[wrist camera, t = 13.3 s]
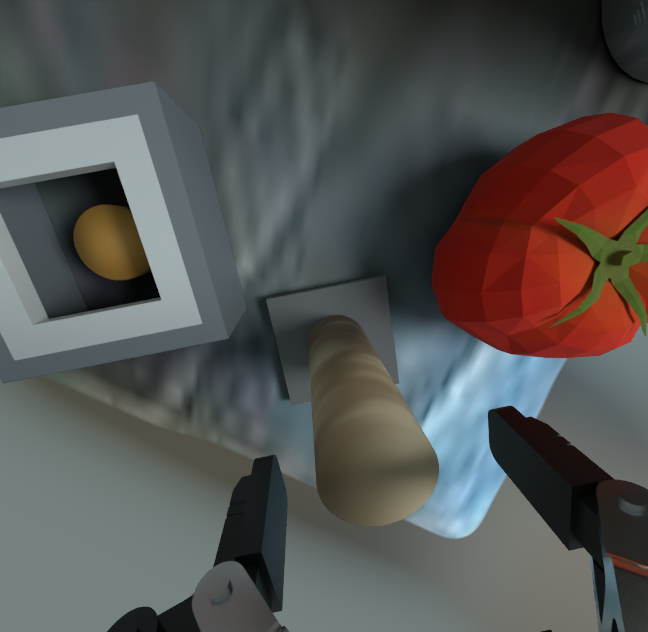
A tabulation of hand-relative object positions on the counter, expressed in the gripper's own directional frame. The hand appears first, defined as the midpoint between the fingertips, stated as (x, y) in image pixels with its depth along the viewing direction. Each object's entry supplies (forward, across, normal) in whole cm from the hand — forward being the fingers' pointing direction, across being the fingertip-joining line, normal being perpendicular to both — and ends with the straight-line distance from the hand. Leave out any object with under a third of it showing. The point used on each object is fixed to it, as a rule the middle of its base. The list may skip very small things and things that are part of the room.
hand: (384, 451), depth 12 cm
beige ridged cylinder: (+10, +1, 0) cm, 11 cm away
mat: (+11, +1, 0) cm, 11 cm away
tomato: (+12, -12, -4) cm, 18 cm away
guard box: (+11, +12, -9) cm, 19 cm away
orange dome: (+11, +12, -9) cm, 18 cm away
